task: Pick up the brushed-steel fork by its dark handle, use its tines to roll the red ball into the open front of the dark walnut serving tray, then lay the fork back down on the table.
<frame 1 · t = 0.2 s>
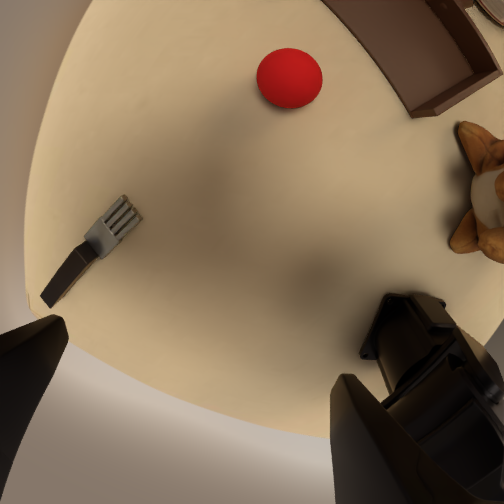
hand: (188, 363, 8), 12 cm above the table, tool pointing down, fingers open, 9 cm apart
red ball: (289, 77, 13), point 2 cm above the table
stuffed squirrel: (498, 197, 16), on the table
fork: (96, 245, 19), on the table
serving tray: (400, 25, 12), on the table
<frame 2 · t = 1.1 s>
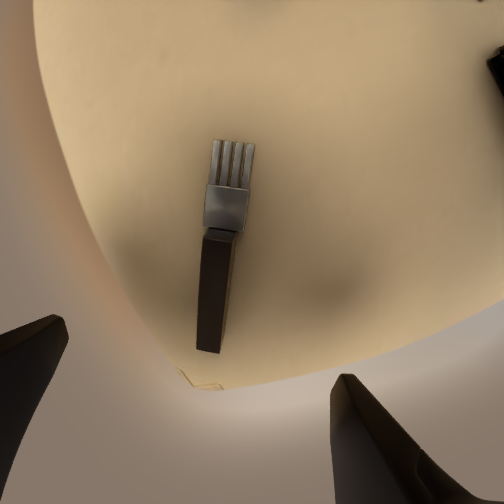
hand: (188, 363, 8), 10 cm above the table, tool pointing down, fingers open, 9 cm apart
fork: (224, 226, 16), on the table
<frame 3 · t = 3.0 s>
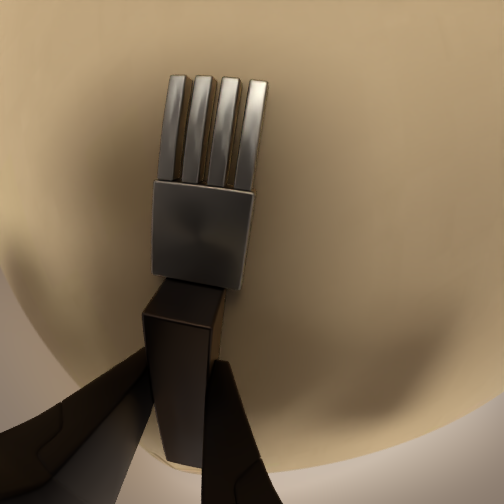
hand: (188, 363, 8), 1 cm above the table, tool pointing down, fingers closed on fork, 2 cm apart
fork: (199, 273, 8), on the table, touching gripper
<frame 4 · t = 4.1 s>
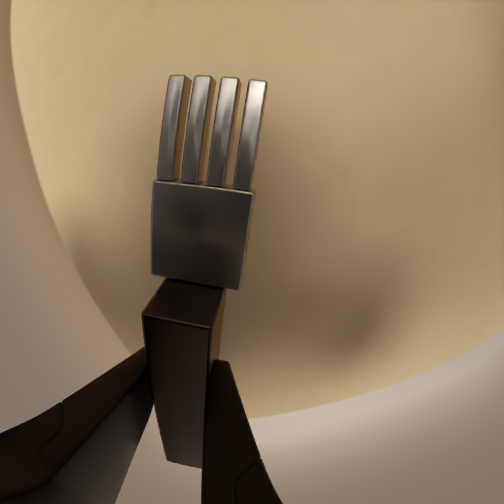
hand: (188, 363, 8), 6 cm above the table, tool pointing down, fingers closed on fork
fork: (198, 273, 8), point 5 cm above the table, touching gripper
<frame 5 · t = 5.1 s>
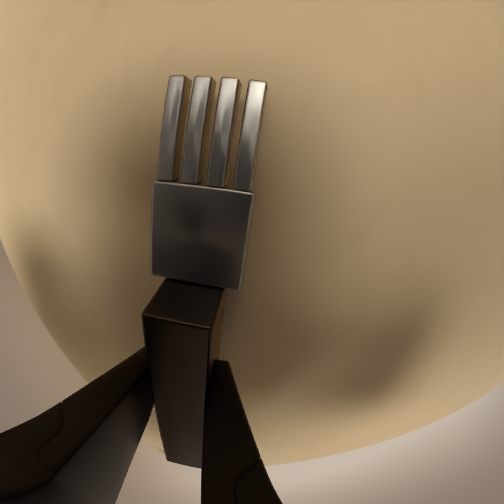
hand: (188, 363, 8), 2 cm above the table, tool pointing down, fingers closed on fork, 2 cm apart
fork: (198, 273, 8), point 1 cm above the table, touching gripper
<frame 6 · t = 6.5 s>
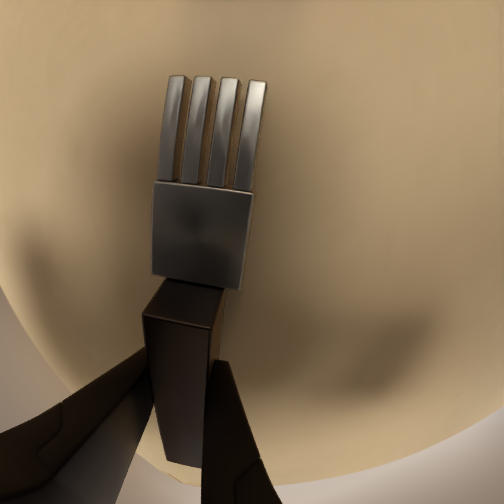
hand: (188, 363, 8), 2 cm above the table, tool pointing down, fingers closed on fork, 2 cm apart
fork: (198, 273, 8), point 1 cm above the table, touching gripper
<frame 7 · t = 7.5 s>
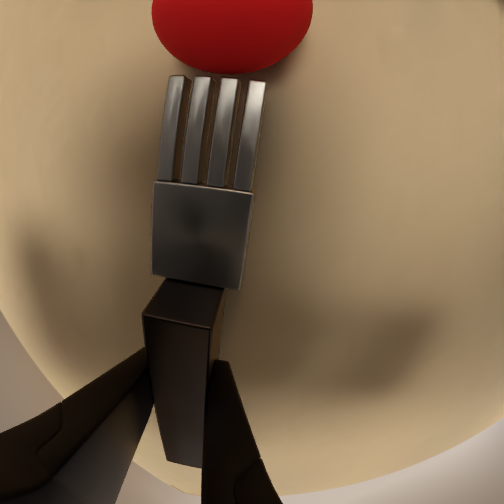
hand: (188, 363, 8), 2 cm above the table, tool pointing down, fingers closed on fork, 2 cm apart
red ball: (232, 7, 4), point 2 cm above the table
fork: (198, 273, 8), point 1 cm above the table, touching gripper
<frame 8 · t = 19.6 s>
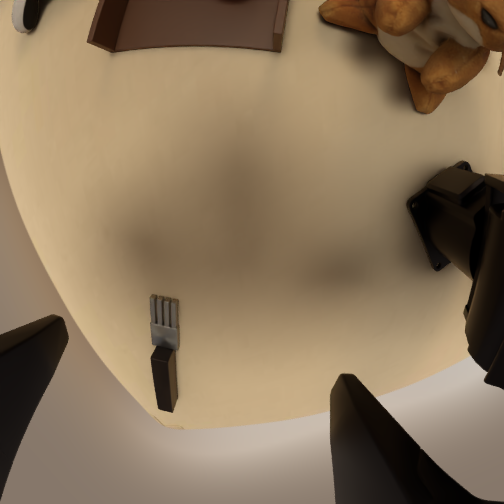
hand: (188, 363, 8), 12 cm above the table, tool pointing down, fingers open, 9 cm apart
stuffed squirrel: (419, 31, 12), on the table
fork: (166, 343, 23), on the table
serving tray: (198, 0, 12), on the table
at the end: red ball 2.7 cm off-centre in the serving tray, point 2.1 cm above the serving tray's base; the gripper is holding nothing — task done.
